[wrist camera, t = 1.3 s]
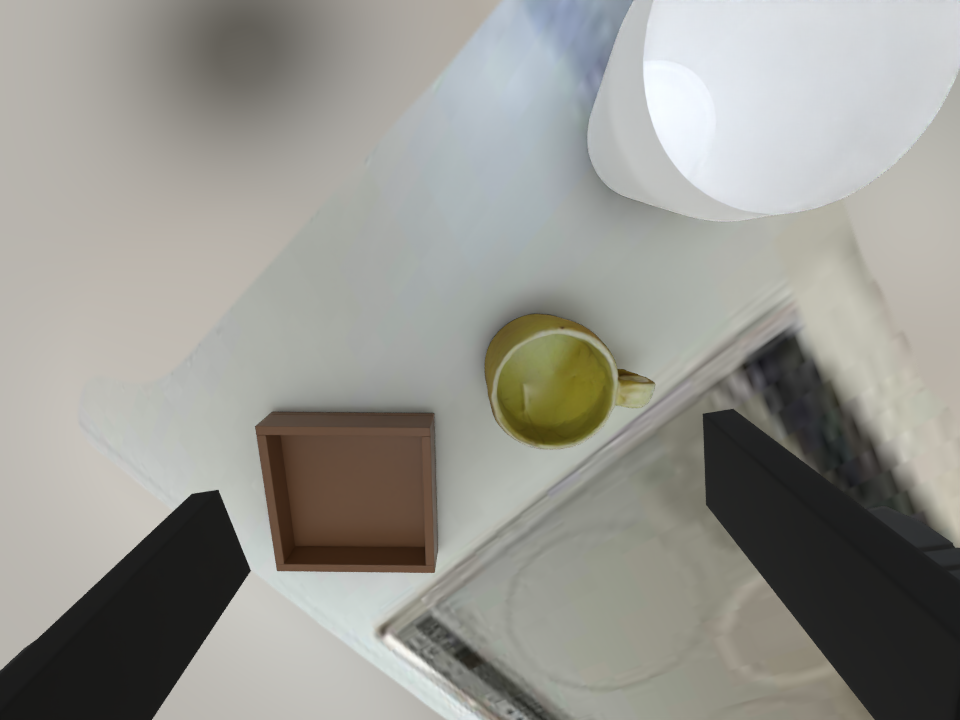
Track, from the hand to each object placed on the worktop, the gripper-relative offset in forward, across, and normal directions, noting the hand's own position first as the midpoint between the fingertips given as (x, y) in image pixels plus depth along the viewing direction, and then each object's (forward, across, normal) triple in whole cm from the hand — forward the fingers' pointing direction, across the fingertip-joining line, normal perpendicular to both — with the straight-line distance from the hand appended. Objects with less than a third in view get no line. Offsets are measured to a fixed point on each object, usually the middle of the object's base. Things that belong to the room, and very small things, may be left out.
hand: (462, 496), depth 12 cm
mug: (+27, +6, -6) cm, 28 cm away
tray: (+26, -14, -14) cm, 33 cm away
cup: (+27, +15, +11) cm, 33 cm away
